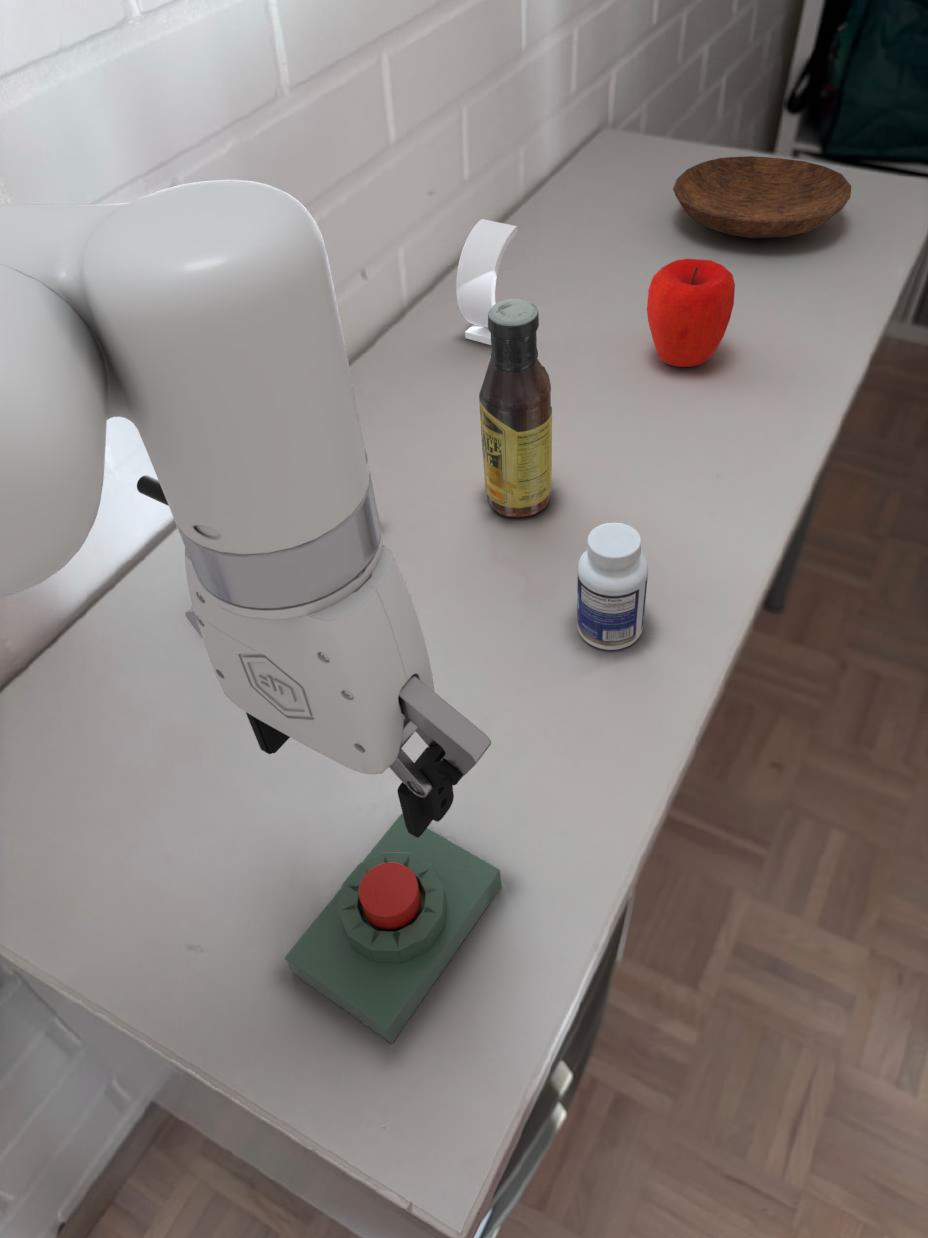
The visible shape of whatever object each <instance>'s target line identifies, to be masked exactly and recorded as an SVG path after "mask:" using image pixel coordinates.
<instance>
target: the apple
mask: <svg viewBox="0 0 928 1238" xmlns="http://www.w3.org/2000/svg"><path fill="white" fill-rule="evenodd" d="M735 292H736V283H735V279H734V275H733V273H732V272H730V270H729V269H728V268H726V266H724V265H722V264H721V263H718V262H716V261H714V260H711V259H700V258H699V259H698V258H683V259H676V260H674V261H671V262H669V263H667V264H666V265H664V266H662V267H661V268H660V269H659V270H658V271H657V272H656V273H655V274H653V276H652V277H651V281H650V284H649V287H648V291H647V302H646V314H647V315H646V316H647V322H648V327H649V331H650V334H651V338H652V342H653V344H654V347H655V351H656V354H657V355H658V357H659V359H660V361H662V362H663V363H665V364H668V365H670V366H671V367H672V366H673V367H677V368H678V367H679V368H691V367H693V368H694V367H697V366H700V365H703V364H704V363H706V361H708V360H709V359H710V358H711V357H712V356H713V354H714V353H715V352H716V350H717V349H718V348H719V346H720V344H721V342H722V340H723V338H724V336H725V334H726V331H727V329H728V326H729V324H730V321H731V317H732V312H733V308H734V305H735Z"/></svg>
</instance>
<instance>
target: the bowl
mask: <svg viewBox="0 0 928 1238" xmlns="http://www.w3.org/2000/svg"><path fill="white" fill-rule="evenodd" d="M672 190H673V193H674V196H675V198H676V199H677V201H678V203H679V205H680V206H681V208H682V210H683V211H684V212H685V213H686V214H687V215H688V216H689V217H690V218H691V219H692V220H695V222H697V223H699V224H701V225H702V226H704V227H706V228H707V229H711V230H714V231H716V232H719V233H723V234H726V235H729V236H735V237H741V238H748V239H768V238H788V237H792V236H796V235H801V234H805V233H808V232H811V231H812V230H814V229H816V228H818V227H820V226H822V225H824V224H825V223H827V222H828V221H829V220H831V219H832V218H833V217H834V216H836V215H837V214H838V213H839V212H841V211H842V210H843V209H844V207H845V206H846V204H847V203H848V201H849V200H850V199H851V194H852V185H851V184H850V182H849V180H848V179H846V177H845V176H844V174H842V173H841V172H840V171H839V172H838V171H837V170H834V169H832V168H830V167H827V166H824V165H820V164H817V163H812V162H809V161H803V160H797V159H790V158H788V159H787V158H782V157H781V158H780V157H769V156H768V157H767V156H753V155H749V156H748V155H747V156H729V157H719V158H714V159H710V160H706V161H701V162H700V163H697V164H695V165H693V166H691V167H689V168H687V169H686V170H684V171H683V172H682V173H681V174H680V175H679V176H678V177H677V178H676V179H675V182H674V185H673V188H672Z"/></svg>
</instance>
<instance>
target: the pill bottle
mask: <svg viewBox="0 0 928 1238" xmlns="http://www.w3.org/2000/svg"><path fill="white" fill-rule="evenodd" d="M576 571H577V572H576V573H577V574H576V575H577V585H576V586H577V589H576V590H577V591H576V596H577V597H576V628H577V631H578V633H579V636H581V638H582V639H583V640H584V642H586V643H587V644H589V645H591V646H593V647H594V648H597V649H601V650H606V651H616V650H621V649H625V648H628V647H630V646H631V645H633V644H634V643H635V642H636V641H637V640H638V639H639V638H640V637H641V634H642V632H643V629H644V623H645V612H646V611H645V610H646V599H647V587H648V578H649V577H648V576H649V563H648V561H647V559H646V557H645V554H643V552H642V537H641V535H640V533H639V532H638V530H637V529H636V528H634V527H632V526H631V525H629V524H626V523H622V522H605V523H601V524H599V525H598V526H595V527H594V528H592V529H591V531H590V532H589V534H588V536H587V543H586V550H584V552H583V553H582V554H581V556H580V558H579V560H578V563H577V569H576Z"/></svg>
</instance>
